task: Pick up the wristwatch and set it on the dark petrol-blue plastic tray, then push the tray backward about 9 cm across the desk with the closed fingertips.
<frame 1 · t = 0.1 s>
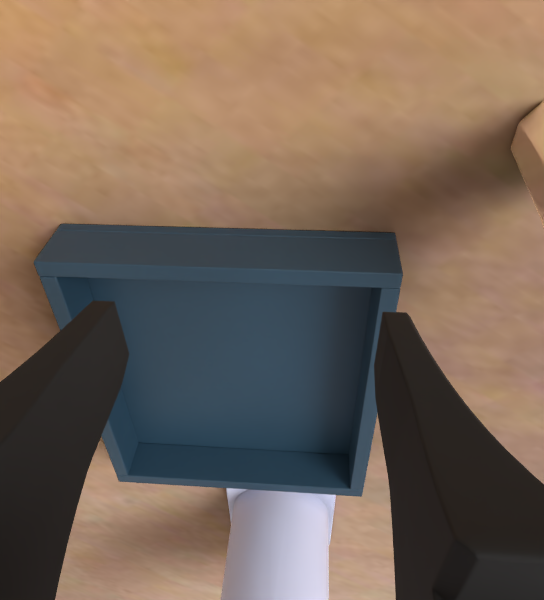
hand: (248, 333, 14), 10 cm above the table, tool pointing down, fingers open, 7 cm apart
tray: (236, 358, 30), on the table
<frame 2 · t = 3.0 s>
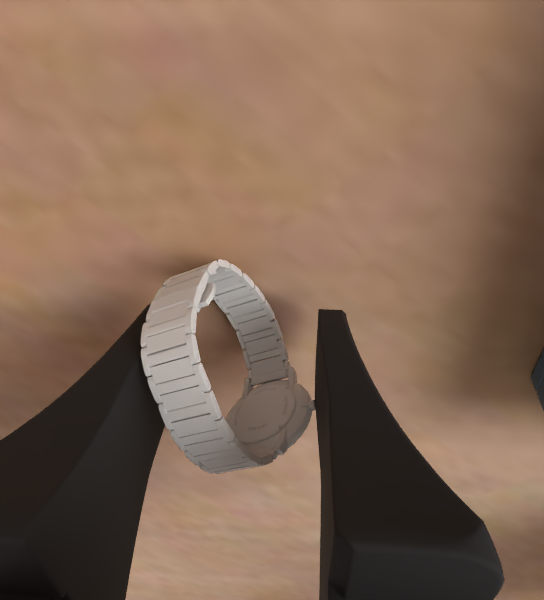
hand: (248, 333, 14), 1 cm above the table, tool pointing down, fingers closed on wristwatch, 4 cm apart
wristwatch: (245, 294, 15), on the table, touching gripper
when the fingers open (2 cm above the table, at t = 7.1 s): wristwatch stays where it is, resting on tray.
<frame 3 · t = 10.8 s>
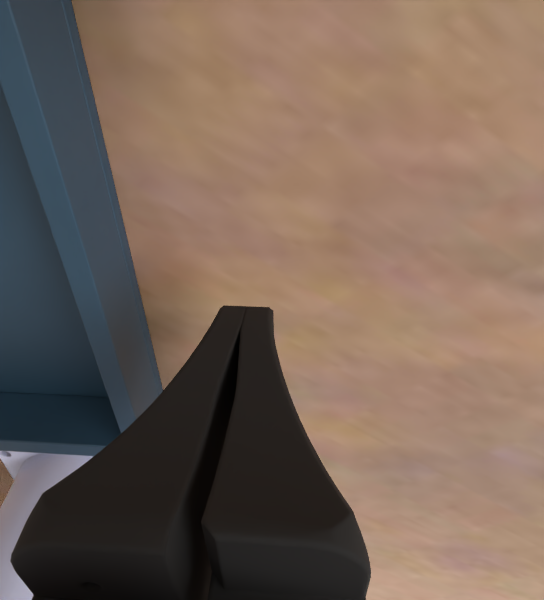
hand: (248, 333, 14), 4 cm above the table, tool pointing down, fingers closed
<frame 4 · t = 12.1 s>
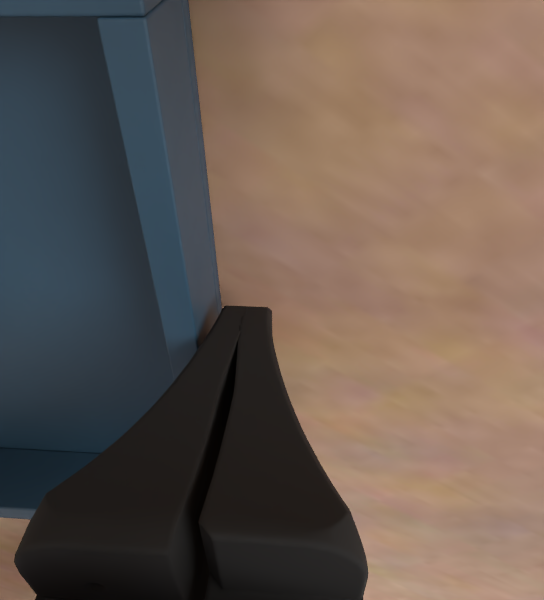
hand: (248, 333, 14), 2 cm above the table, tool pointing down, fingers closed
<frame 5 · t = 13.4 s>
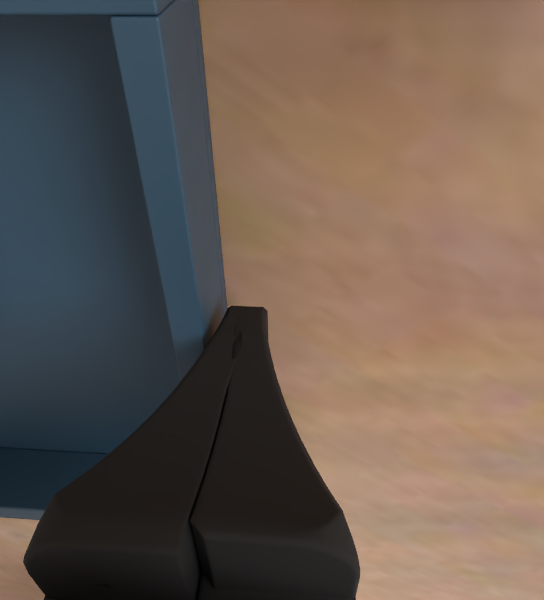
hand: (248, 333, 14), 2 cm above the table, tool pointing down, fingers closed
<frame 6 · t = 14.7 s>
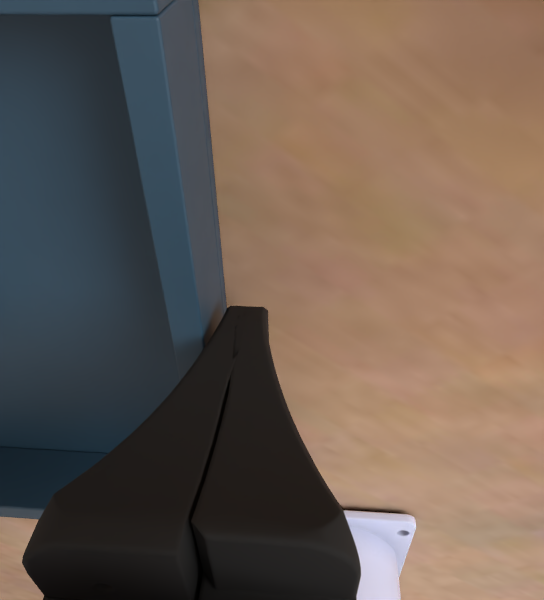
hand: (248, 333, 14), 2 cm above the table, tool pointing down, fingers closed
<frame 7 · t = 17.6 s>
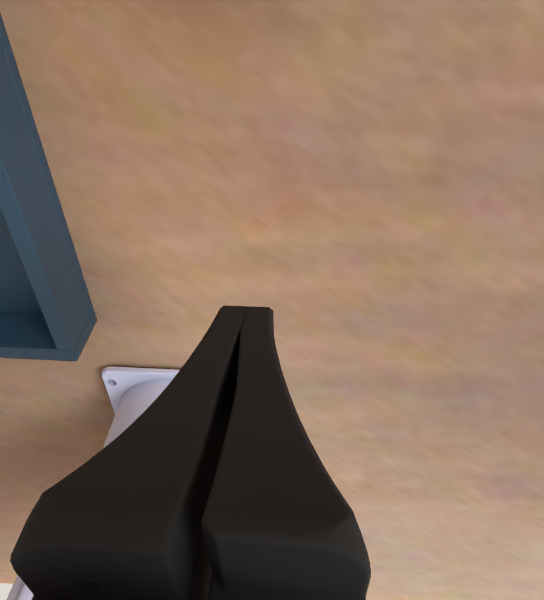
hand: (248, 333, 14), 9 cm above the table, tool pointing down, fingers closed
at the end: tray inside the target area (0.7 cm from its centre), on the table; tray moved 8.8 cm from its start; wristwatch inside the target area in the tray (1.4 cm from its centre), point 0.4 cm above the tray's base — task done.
